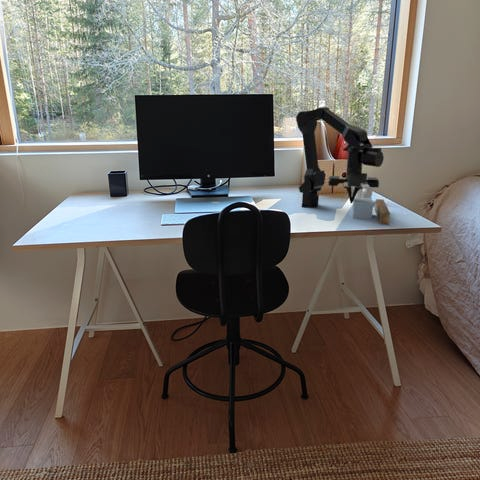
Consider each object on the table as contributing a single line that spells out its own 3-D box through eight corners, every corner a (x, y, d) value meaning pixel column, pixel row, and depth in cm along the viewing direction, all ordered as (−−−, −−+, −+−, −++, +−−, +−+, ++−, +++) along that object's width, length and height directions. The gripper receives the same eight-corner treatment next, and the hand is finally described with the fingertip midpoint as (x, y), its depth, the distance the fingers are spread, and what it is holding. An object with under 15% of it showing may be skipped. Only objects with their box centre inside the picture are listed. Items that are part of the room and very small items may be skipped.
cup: (373, 206, 182) (375, 188, 180) (354, 205, 184) (355, 187, 181) (371, 200, 192) (372, 182, 189) (353, 199, 194) (354, 182, 191)
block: (353, 218, 167) (354, 202, 165) (352, 213, 173) (353, 197, 171) (371, 219, 166) (373, 202, 163) (370, 213, 172) (371, 198, 170)
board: (380, 224, 159) (381, 212, 158) (374, 209, 178) (375, 199, 176) (388, 224, 159) (390, 213, 157) (382, 209, 177) (383, 199, 176)
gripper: (329, 166, 157) (327, 207, 163) (382, 168, 154) (377, 209, 159) (329, 161, 168) (327, 200, 173) (379, 162, 164) (375, 202, 170)
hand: (351, 203), depth 168 cm, fingers closed
